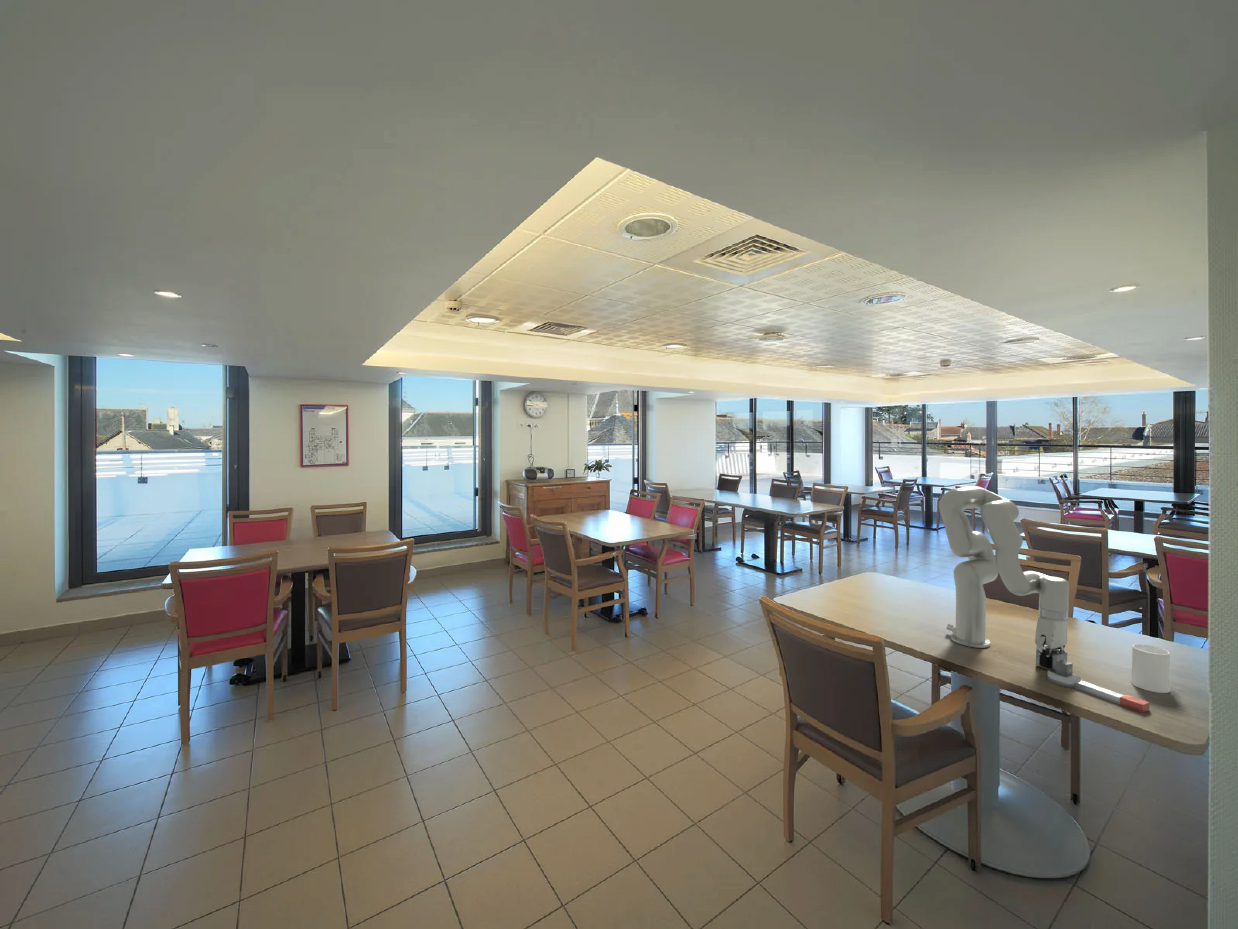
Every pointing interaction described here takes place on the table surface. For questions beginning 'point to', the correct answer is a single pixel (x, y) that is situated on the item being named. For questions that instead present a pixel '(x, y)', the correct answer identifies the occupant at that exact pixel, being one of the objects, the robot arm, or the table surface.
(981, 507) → the robot arm
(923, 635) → the table surface
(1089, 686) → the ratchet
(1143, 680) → the mug
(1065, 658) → the cube with domed knob
